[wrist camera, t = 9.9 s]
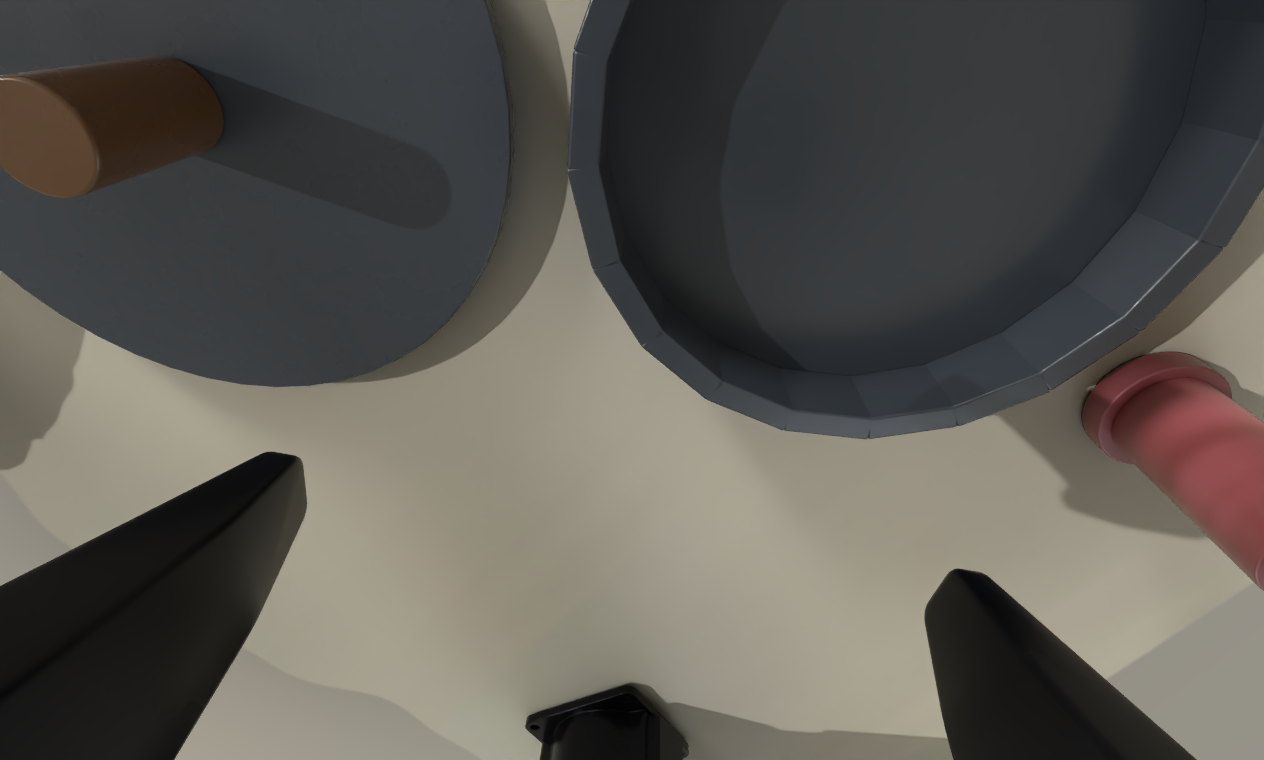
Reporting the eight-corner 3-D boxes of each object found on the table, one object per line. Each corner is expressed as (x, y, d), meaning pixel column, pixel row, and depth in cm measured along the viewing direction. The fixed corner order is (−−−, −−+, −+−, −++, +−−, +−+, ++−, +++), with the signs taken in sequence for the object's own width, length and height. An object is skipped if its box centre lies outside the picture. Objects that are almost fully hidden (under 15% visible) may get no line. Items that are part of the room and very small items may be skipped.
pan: (734, 452, 23) (744, 509, 21) (458, 1, 16) (421, 2, 14) (1245, 242, 19) (1338, 282, 16) (1184, -533, 11) (1337, -684, 9)
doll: (1091, 463, 23) (1345, 737, 15) (1071, 382, 21) (1345, 639, 13) (1215, 420, 22) (1567, 691, 13) (1203, 331, 20) (1601, 577, 12)
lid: (232, 441, 24) (127, 553, 19) (-299, -40, 16) (-698, -53, 11) (633, 219, 19) (626, 295, 14) (141, -634, 11) (-242, -1101, 6)
